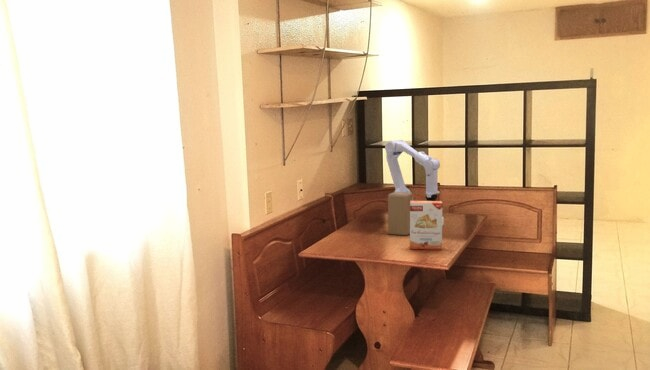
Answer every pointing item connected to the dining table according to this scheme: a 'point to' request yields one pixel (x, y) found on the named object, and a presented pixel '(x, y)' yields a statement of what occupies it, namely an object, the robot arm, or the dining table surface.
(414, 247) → the cracker box
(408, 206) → the wooden block
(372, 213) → the dining table surface
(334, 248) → the dining table surface
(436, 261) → the dining table surface
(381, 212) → the dining table surface
